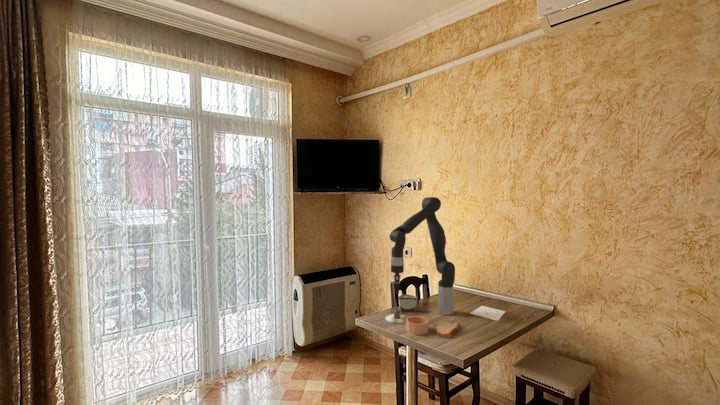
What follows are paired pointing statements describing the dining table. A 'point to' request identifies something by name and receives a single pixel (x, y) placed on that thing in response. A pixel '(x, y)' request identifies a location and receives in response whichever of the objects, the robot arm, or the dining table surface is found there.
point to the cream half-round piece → (407, 303)
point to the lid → (396, 317)
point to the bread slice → (446, 329)
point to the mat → (392, 323)
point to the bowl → (417, 325)
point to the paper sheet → (488, 312)
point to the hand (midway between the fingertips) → (397, 291)
